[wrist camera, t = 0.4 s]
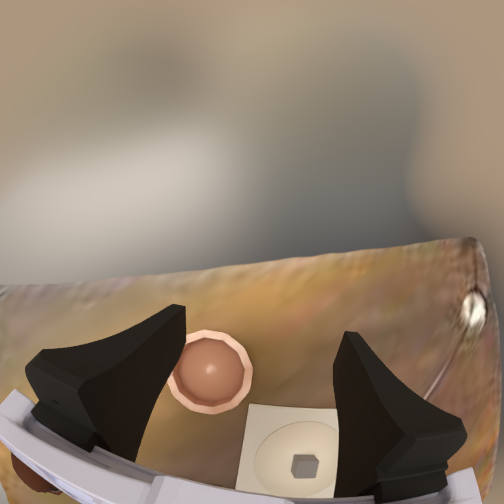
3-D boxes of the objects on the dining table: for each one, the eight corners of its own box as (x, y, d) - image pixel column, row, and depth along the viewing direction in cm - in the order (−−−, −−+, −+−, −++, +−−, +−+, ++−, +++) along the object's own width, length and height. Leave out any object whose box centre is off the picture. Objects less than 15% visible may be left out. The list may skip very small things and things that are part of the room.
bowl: (244, 412, 35) (245, 419, 31) (168, 398, 35) (160, 403, 31) (255, 339, 39) (257, 337, 35) (179, 326, 39) (173, 323, 35)
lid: (335, 494, 30) (342, 503, 26) (247, 495, 30) (249, 505, 26) (352, 420, 35) (362, 425, 31) (261, 417, 34) (264, 424, 31)
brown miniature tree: (74, 413, 32) (18, 429, 18) (107, 472, 29) (63, 507, 15) (36, 425, 30) (-18, 437, 16) (65, 479, 27) (20, 506, 13)
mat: (342, 500, 30) (343, 502, 29) (232, 501, 29) (232, 502, 29) (364, 407, 36) (366, 408, 35) (249, 402, 36) (249, 403, 35)
